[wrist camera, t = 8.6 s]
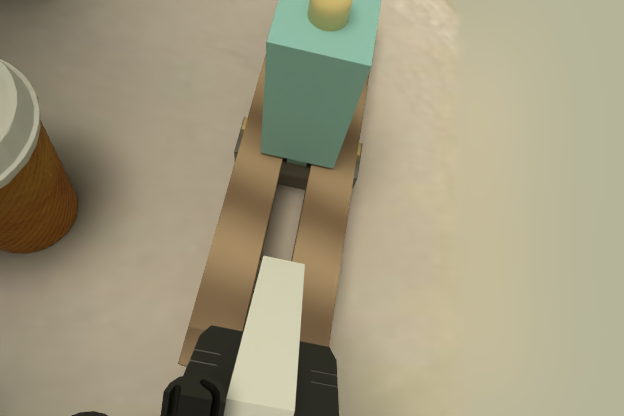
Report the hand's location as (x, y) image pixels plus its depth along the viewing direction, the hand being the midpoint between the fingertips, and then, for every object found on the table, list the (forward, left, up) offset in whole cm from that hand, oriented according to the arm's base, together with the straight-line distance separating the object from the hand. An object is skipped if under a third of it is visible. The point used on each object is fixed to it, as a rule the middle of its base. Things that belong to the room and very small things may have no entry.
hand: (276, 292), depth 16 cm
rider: (-10, +10, -11) cm, 18 cm away
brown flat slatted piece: (-10, +9, -15) cm, 20 cm away
